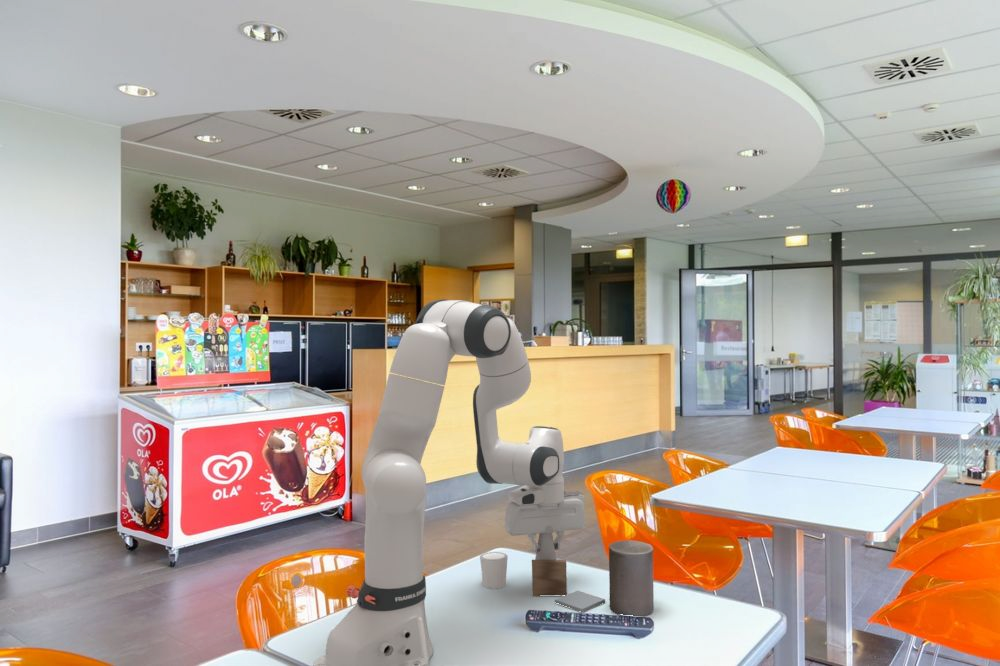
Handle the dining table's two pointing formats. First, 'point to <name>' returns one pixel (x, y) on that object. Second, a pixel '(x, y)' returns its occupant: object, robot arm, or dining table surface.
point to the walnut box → (549, 577)
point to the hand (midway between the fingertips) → (545, 550)
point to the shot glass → (494, 569)
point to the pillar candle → (631, 578)
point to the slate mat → (580, 601)
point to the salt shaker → (546, 545)
